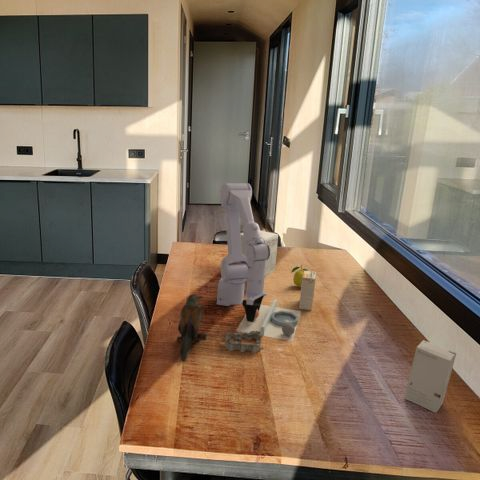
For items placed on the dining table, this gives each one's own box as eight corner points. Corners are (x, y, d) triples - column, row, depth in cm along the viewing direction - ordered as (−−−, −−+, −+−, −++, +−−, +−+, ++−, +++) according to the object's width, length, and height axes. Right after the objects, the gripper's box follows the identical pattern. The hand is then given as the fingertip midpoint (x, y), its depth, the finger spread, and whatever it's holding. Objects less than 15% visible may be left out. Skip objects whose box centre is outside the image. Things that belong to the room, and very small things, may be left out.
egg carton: (261, 342, 132) (262, 330, 131) (259, 355, 125) (260, 342, 124) (226, 338, 133) (227, 326, 132) (223, 351, 126) (224, 338, 125)
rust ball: (245, 320, 144) (246, 309, 143) (248, 315, 147) (249, 304, 146) (257, 322, 143) (258, 311, 142) (259, 317, 146) (260, 306, 145)
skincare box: (403, 399, 109) (413, 346, 105) (411, 389, 113) (421, 338, 109) (438, 414, 104) (450, 360, 100) (445, 403, 108) (457, 350, 104)
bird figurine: (203, 363, 117) (210, 290, 123) (167, 360, 118) (176, 288, 123) (208, 363, 130) (214, 297, 136) (176, 360, 131) (184, 295, 136)
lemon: (289, 288, 177) (291, 265, 174) (293, 283, 182) (295, 261, 179) (305, 291, 175) (307, 268, 172) (308, 286, 180) (311, 264, 177)
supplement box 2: (311, 313, 155) (315, 278, 151) (298, 311, 156) (302, 277, 152) (312, 304, 163) (316, 271, 159) (300, 302, 164) (303, 269, 160)
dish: (268, 324, 142) (269, 320, 141) (273, 313, 150) (274, 309, 150) (296, 329, 140) (296, 324, 139) (299, 317, 148) (299, 313, 148)
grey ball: (280, 336, 134) (281, 325, 133) (282, 331, 138) (283, 319, 137) (293, 339, 133) (294, 327, 132) (294, 333, 137) (296, 321, 136)
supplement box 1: (275, 270, 196) (279, 233, 192) (261, 278, 186) (264, 239, 181) (251, 264, 203) (253, 228, 198) (235, 271, 192) (238, 233, 188)
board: (235, 333, 136) (235, 330, 136) (252, 305, 158) (252, 303, 157) (292, 344, 132) (292, 341, 132) (301, 313, 154) (301, 311, 153)
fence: (260, 335, 134) (261, 326, 133) (273, 306, 156) (274, 299, 155) (263, 336, 134) (264, 327, 133) (276, 307, 155) (277, 299, 155)
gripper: (263, 288, 133) (259, 327, 137) (271, 273, 147) (268, 309, 151) (241, 284, 135) (238, 324, 139) (251, 270, 149) (249, 306, 152)
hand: (252, 316), depth 145 cm, fingers open, 7 cm apart
